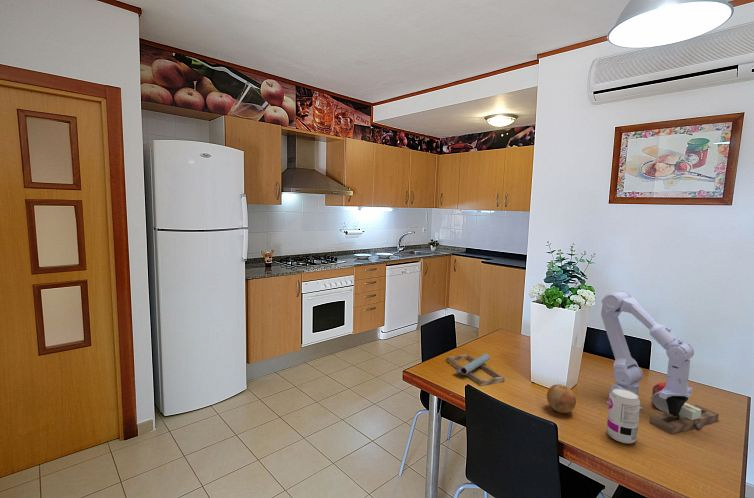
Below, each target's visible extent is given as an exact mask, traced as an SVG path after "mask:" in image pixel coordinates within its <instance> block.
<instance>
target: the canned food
mask: <svg viewBox="0 0 754 498" xmlns="http://www.w3.org/2000/svg"><path fill="white" fill-rule="evenodd" d="M665 386H666V382H658V383H656V384H654V386H653V387H652V392H651V393H652V395H651V397H652V399H651V400H652V404H653V405H654V407H655V408H656V409H658V410H660V411H661V412H663V413H666V412H669V410H668V405H667V402H666V400H665V399H663V398H661V397H659V391H662V390H663V389H664V387H665Z"/></svg>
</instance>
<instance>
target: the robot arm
mask: <svg viewBox="0 0 754 498" xmlns="http://www.w3.org/2000/svg"><path fill="white" fill-rule="evenodd" d="M601 303H602V306H601V312H600V315H601V319H602V322H603V325H604V328H605V331H606V335H607V339H608V341H609V343H610V347H611V351H612V353H613V356H614V362H613V365H612V367H613V378H614V380H615V384H613V385H612V386H611V387H609V394H608V399H609V398H610V393H611V392H612V390H613V389H625V390H629V391H631V392H633V393H635V394H637V395H638V396H639V390H640V384H639V383H640V381H641V380H643V378H644V371H643V370H642V368H641V367H639V365H638V362H637V361H636V359H635V358H633V357H632V355H631V352H630V350H629V349H630V348H629V346H628V343H627V340H626V337H625V334H624V331H623V328H622V324H621V322H620V318H619V316H620V314H622V312H624V313H628V314H631V315H633V317H635V318H636V319H637V320H639V322H640V323H641V324H642V325H643V326H645V327H646V328H647V329H648V330H649V336H650V337H652V338H653V339H654V340H655V341H656V342H657V343H658V344H659V345H660V346H661V347H662V348H663V349H664V350H665V352H666V356H667V357H668V363H667V373H666V382H665V383H666V386H665V387H664V389H663V390H662V391H659V397H661V398H663V399H665V400H666V402H667V405H668V410H669V414H671V415H673V416H678V415H679V412H680V410H681V408H682V406H683V405H684V404H685V403H687V401H688V400H689V398H690V397H691V394H692V393H693V387H691V386H688V385H689V378H690V377H689V376H690V365H691V359H692V358H693V356H694V354H695V351H694V348H693V347H692V346H691V344H690V343H688V342H685V341H683V340H682V339H681V338H679V337H678V336H676V334H675V333H673V331H672V329H671V328H670V327H669V326H666V325H664V324H660V323H658V322H656V320H655V319H654V318H653V317H652V316H651V315H650V314H649V313H648V312H647V311H646V310H645V309H644V308H643V307H642V306H641V305H640V303H638V301H637V299H636V298H635V297H634V296H632V294H630V293H629V292H627V291H623V290H622V291H618V292H610V293H607V294H605V295H604V297H603V298H602V299H601ZM606 404H608V405H609V400H607V401H606ZM640 410H643V407H642V406H640Z"/></svg>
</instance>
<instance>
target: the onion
mask: <svg viewBox="0 0 754 498" xmlns="http://www.w3.org/2000/svg"><path fill="white" fill-rule="evenodd" d="M576 399H577V398H576V395H575V393H574V391H573V390H572V389H571V388H570V387H568V386H567V385H565V384H561V383H560V384H559V383H558V384H553V385H551V386H550V387H549V388H548V390H547V392H546V400H547V403H548V405H549V406H550V407H551V408H552V409H553V410H554V411H555V412H558V413H561V414H568V413H571V412H572V411H573V410H575V408H576V404H577V400H576Z"/></svg>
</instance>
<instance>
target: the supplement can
mask: <svg viewBox="0 0 754 498" xmlns="http://www.w3.org/2000/svg"><path fill="white" fill-rule="evenodd" d="M608 401H609V404H608V411H607V423H606V434H608V436H609V437H611V438H612V439H613V440H615V441H617V442H620V443H622V444H628V445H629V444H633V443H636V442H637V439H638V430H639V420H640V419H639V417H640V410H641V409H640V407H641V401H640V399H639V394H638V395H637V394H635V393H633V392H631V391H629V390H625V389H613V390H612V392H611V393H610V398H609V397H608Z"/></svg>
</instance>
